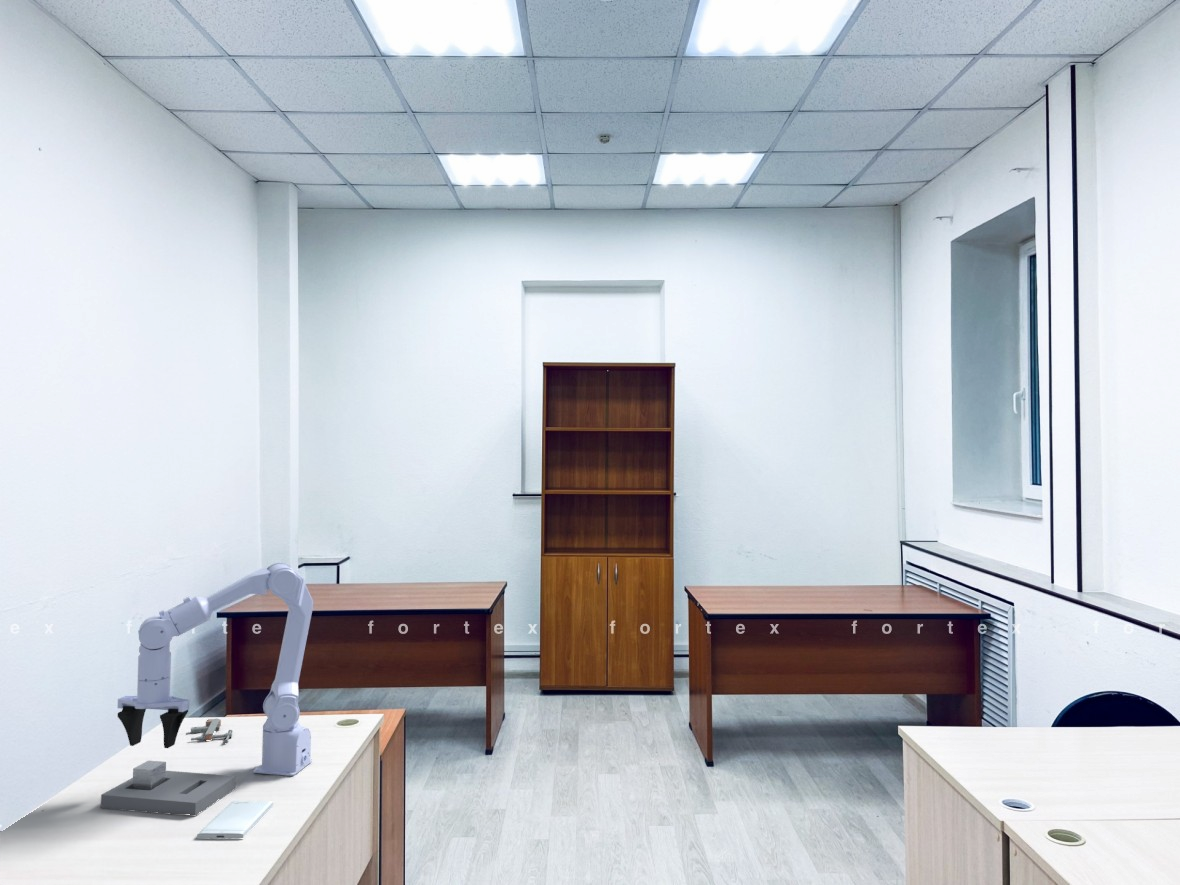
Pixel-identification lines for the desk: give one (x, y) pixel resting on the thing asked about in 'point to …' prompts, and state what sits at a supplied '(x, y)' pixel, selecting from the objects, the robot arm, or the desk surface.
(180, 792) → the plate
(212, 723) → the clamp
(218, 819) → the hard drive
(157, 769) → the square bit
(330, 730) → the desk surface
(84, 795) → the desk surface
